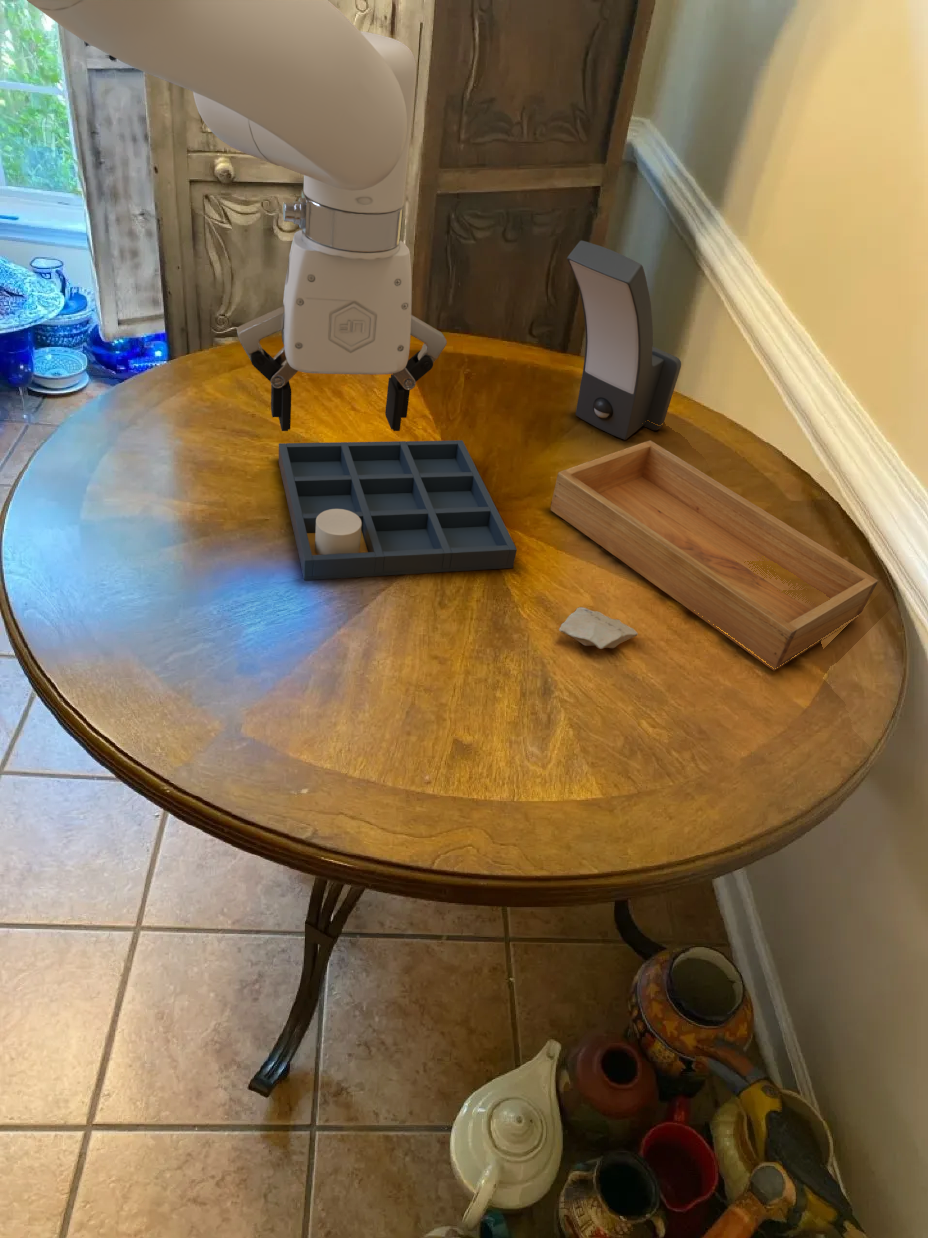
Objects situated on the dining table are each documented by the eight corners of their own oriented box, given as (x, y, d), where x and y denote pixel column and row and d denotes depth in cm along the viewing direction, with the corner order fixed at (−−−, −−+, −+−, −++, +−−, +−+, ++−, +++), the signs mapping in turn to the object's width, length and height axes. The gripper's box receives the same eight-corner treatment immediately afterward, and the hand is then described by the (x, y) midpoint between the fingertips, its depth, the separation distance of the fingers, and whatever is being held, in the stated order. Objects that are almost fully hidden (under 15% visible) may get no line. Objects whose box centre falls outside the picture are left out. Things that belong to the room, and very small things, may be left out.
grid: (304, 580, 87) (304, 560, 86) (278, 461, 102) (278, 443, 101) (513, 568, 93) (517, 549, 92) (459, 457, 108) (462, 439, 107)
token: (318, 564, 88) (319, 535, 86) (311, 537, 92) (312, 509, 89) (363, 562, 90) (365, 533, 88) (355, 535, 93) (357, 507, 91)
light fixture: (519, 435, 114) (558, 237, 99) (596, 396, 125) (642, 213, 110) (590, 472, 110) (643, 271, 94) (663, 429, 121) (721, 242, 105)
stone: (581, 611, 90) (547, 639, 86) (586, 592, 88) (552, 620, 84) (636, 641, 87) (605, 671, 83) (642, 622, 86) (610, 652, 82)
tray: (548, 511, 102) (558, 468, 98) (638, 478, 110) (651, 436, 107) (769, 677, 86) (791, 633, 82) (855, 623, 94) (879, 580, 90)
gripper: (240, 232, 65) (242, 445, 76) (473, 247, 70) (443, 444, 81) (232, 199, 70) (234, 402, 81) (448, 214, 75) (423, 404, 86)
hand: (339, 423), depth 81 cm, fingers open, 9 cm apart
